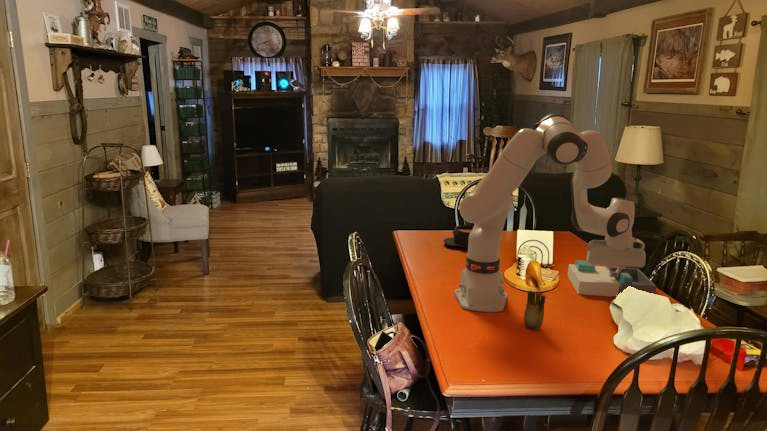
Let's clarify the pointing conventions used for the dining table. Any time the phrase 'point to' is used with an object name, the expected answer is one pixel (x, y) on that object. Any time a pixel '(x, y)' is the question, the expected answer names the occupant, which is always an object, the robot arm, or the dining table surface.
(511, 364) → the dining table surface
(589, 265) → the tile
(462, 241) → the black brimmed hat
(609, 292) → the plate
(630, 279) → the tile
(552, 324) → the dining table surface
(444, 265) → the dining table surface
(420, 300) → the dining table surface
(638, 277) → the bin
